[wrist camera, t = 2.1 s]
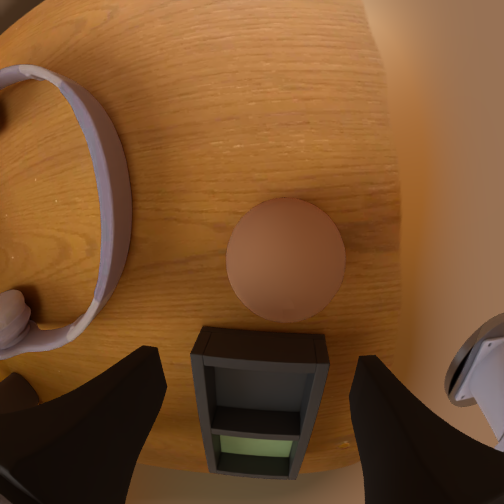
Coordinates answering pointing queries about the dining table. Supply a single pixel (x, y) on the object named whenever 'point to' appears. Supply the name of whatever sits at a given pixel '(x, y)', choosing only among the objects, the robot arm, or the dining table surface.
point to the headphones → (112, 218)
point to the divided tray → (257, 399)
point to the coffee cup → (16, 394)
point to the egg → (285, 260)
